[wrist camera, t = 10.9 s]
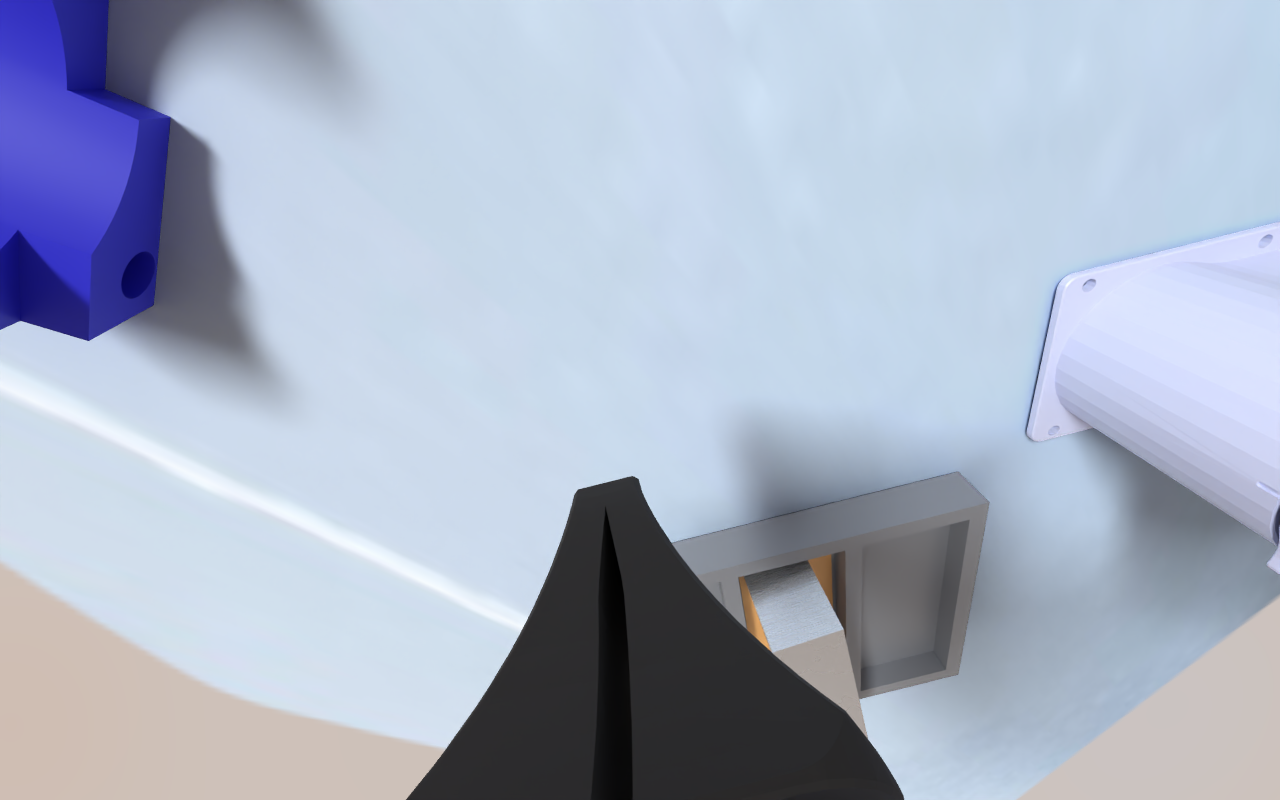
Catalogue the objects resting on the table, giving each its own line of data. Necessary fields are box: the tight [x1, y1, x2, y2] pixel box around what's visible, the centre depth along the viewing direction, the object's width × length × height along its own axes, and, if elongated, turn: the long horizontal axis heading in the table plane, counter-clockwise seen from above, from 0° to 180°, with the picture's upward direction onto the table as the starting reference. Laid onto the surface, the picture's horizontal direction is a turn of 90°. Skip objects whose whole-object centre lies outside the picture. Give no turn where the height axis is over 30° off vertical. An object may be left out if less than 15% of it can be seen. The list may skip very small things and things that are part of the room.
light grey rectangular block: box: [744, 560, 868, 739], centre depth 26 cm, size 3×10×4 cm, turn 19°
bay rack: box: [672, 472, 989, 699], centre depth 28 cm, size 18×14×2 cm
